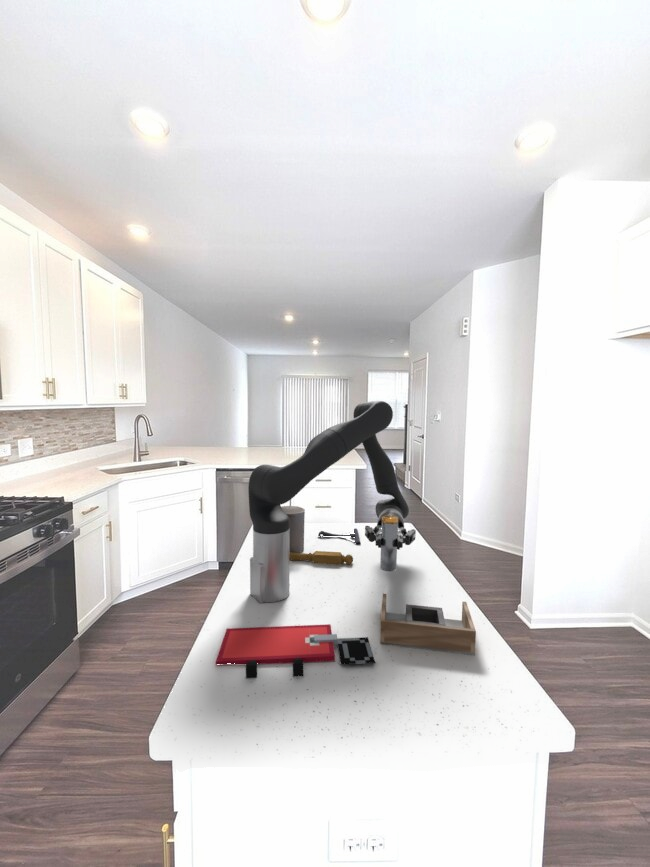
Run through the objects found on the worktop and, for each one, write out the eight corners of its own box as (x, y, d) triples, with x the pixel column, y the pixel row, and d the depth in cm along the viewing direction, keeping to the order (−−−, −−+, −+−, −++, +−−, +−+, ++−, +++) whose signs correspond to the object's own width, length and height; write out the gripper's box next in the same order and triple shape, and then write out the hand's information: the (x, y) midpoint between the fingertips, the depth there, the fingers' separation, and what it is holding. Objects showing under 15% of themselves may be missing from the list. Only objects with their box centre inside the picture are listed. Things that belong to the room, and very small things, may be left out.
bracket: (318, 532, 153) (318, 525, 153) (357, 532, 153) (357, 525, 153) (317, 546, 139) (317, 538, 139) (360, 546, 139) (360, 538, 138)
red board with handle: (377, 674, 73) (364, 629, 88) (377, 659, 73) (364, 616, 88) (211, 682, 71) (226, 634, 86) (211, 667, 71) (226, 622, 86)
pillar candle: (270, 553, 130) (270, 508, 129) (282, 542, 139) (282, 500, 138) (298, 557, 127) (299, 511, 126) (308, 546, 137) (309, 503, 135)
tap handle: (259, 548, 127) (353, 552, 124) (259, 557, 127) (353, 562, 124) (256, 551, 124) (352, 556, 121) (256, 561, 124) (352, 566, 121)
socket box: (474, 655, 79) (475, 631, 79) (380, 643, 82) (380, 620, 82) (465, 622, 91) (466, 601, 90) (382, 613, 94) (383, 593, 94)
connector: (387, 572, 98) (389, 520, 97) (376, 567, 101) (378, 516, 100) (399, 569, 100) (401, 518, 99) (388, 563, 103) (390, 514, 103)
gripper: (366, 509, 115) (360, 527, 98) (416, 513, 113) (419, 532, 96) (365, 535, 116) (359, 557, 99) (415, 539, 113) (418, 562, 96)
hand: (389, 544), depth 97 cm, fingers closed on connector, 4 cm apart
